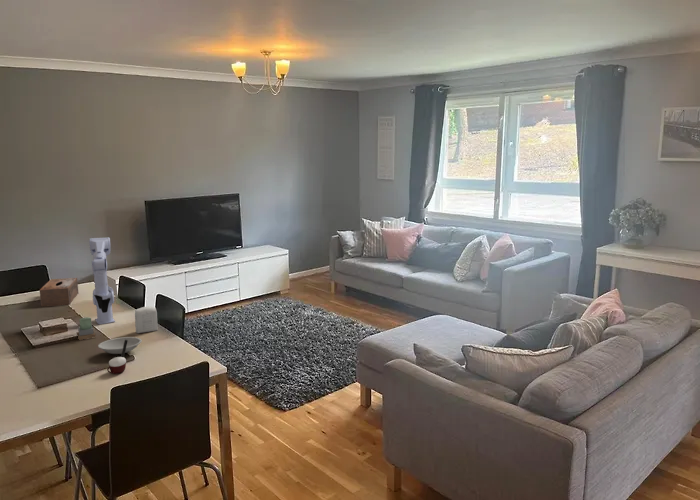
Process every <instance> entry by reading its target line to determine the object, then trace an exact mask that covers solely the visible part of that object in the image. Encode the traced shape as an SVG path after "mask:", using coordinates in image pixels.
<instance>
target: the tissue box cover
mask: <svg viewBox="0 0 700 500" xmlns="http://www.w3.org/2000/svg"><path fill="white" fill-rule="evenodd" d="M78 294H79V283H78V277H70V278H69V277H67V278H53V279H52V278H51V279H50V280H49V281H47V282H46V283H45V284H44V285H43V286H42V287H41V288H40V289H39V296H40V297H39V299H40V307H52V306H53V307H57V306H69V305H71V303H72V302H73V301H74V299H76V297H77V296H78Z"/></svg>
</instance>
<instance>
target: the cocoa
mask: <svg viewBox="0 0 700 500" xmlns="http://www.w3.org/2000/svg"><path fill="white" fill-rule="evenodd" d="M127 342H128V340H125V342H124V346H123V350H122V354H120V355H121V356H117V357H116V356H115V357H113V358H112V359H110V360H109V361H108V367H107V368H106V371H107V372H108V373H109V374H114V375H118V374H122V373H123V372H124V371H125V370H126V366H127V359H126V358H125V351H126V346H127Z"/></svg>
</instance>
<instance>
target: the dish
mask: <svg viewBox="0 0 700 500" xmlns="http://www.w3.org/2000/svg"><path fill="white" fill-rule="evenodd" d="M125 340H128V342H127V346H126V351H125V353H128V352H131V351H133V350H134V349H135V348H137V347H138V345H140V344H141V343H142V341H143V340H142V338H139V337H136V336H125V337H124V336H123V337H117V338H111V339H108V340H104V341H102V342H100V343H98V345H97V347H98V349H101V350H102V351H103V352H105V353H107V354H110V355H111V354H112V355H118V354H119V355H122V350H123V346H124V342H125Z"/></svg>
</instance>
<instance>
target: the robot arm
mask: <svg viewBox="0 0 700 500" xmlns="http://www.w3.org/2000/svg"><path fill="white" fill-rule="evenodd" d="M88 244H89V245H88V246H89V250H90V254H91V256H92V257H93V258H92V261H91V268H92V273H93V278H94V279H93V282H94V289H93V290H92V304H93V305H94V306H95V308H96V318H95V321H96V323H97V325H104V324H111V323H114V322H116V320H115V319H114V317H113V304H114V303H115V292H114V289H113V287H110V285H109V284H108V283H109V282H108V272H107V271H108V260H107V256H109V255H111V238H110V237H109V236H107V237H93V238H92V237H90V238H89V239H88Z"/></svg>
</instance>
